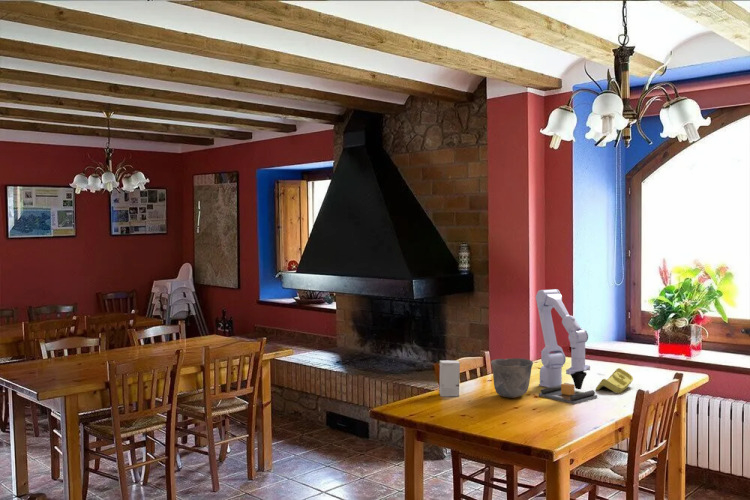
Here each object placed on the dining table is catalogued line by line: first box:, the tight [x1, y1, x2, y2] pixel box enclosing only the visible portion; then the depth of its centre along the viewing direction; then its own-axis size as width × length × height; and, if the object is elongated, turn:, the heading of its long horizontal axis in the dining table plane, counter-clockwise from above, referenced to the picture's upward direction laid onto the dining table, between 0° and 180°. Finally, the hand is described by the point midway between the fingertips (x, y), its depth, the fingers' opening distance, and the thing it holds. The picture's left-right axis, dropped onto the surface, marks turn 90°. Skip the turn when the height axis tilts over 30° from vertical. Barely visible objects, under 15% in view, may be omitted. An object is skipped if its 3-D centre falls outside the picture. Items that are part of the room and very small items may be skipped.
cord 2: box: [570, 389, 596, 400], centre depth 290 cm, size 2×15×2 cm, turn 128°
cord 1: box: [540, 385, 561, 394], centre depth 301 cm, size 2×15×2 cm, turn 128°
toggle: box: [561, 382, 575, 395], centre depth 296 cm, size 4×3×4 cm
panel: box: [538, 389, 598, 405], centre depth 296 cm, size 18×16×1 cm
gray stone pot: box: [490, 357, 534, 399], centre depth 298 cm, size 18×18×15 cm
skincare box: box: [438, 359, 461, 398], centre depth 301 cm, size 8×6×15 cm
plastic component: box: [595, 367, 634, 394], centre depth 311 cm, size 20×7×10 cm
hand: (578, 388), depth 300 cm, fingers closed
